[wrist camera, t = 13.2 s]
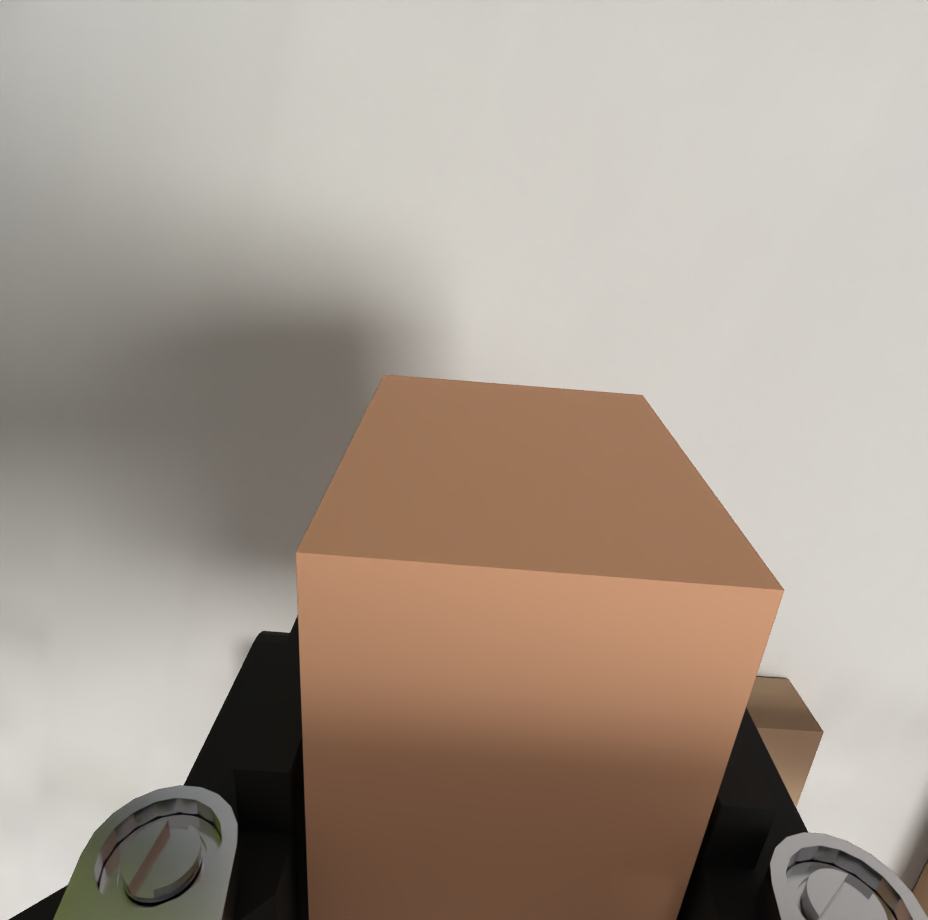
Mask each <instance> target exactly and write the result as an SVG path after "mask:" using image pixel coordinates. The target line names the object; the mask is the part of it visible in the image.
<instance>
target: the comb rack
mask: <svg viewBox="0 0 928 920" xmlns="http://www.w3.org/2000/svg"><path fill="white" fill-rule="evenodd" d="M746 708H747V710H748V712H749V714H750V716H751V718H752V720H753V722H754V724H755V726H756V728H757V730H758V732H759V734H760V736H761V738H762V740H763V742H764V744H765V746H766V748H767V750H768V752H769V754H770V756H771V758H772V760H773V762H774V764H775V766H776V768H777V770H778V772H779V774H780V776H781V778H782V780H783V782H784V784H785V787H786V789H787V791H788V793H789V795H790V797H791V799H792V801H793V803H794V805H795V807H796V806H797V803H798V801H799V798H800V795H801V792H802V790H803V787H804V784H805V782H806V779H807V776H808V773H809V771H810V768H811V765H812V762H813V760H814V757H815V754H816V751H817V749H818V746H819V743H820V740H821V738H822V735H823V730H822V729H821V727H820V726H819V724H818V723H817V721H816V720H815V718H814V717H813V715H812V714H811V712H810V711H809V709H808V708H807V706H806V705H805V703H804V702H803V700H802V699H801V697H800V696H799V694H798V693H797V691H796V690H795V688H794V687H793V685H792V684H791V682H790V681H789V679H781V678H766V677H756V678H755V681H754V684H753V687H752V690H751V693H750V696H749V699H748V702H747V706H746ZM912 893H913V894H914V896H915V898H916V899H917V901H918V903H919V904H920V906H921V907H922V909H923V911H924V912H925V914H926V916H927V917H928V862H927V864H926V866H925V868H924V870H923V872H922V874H921V876H920V878H919V880H918V882H917V884H916V886H915V888H914V890H913V892H912Z"/></svg>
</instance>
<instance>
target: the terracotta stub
mask: <svg viewBox="0 0 928 920" xmlns="http://www.w3.org/2000/svg"><path fill="white" fill-rule="evenodd" d="M296 570H297V598H298V626H299V654H300V682H301V710H302V738H303V766H304V794H305V822H306V850H307V878H308V906H309V920H676V919H677V916H678V913H679V910H680V907H681V904H682V901H683V897H684V894H685V891H686V888H687V885H688V882H689V879H690V876H691V873H692V870H693V867H694V864H695V861H696V858H697V855H698V852H699V849H700V846H701V843H702V840H703V837H704V834H705V830H706V827H707V824H708V821H709V818H710V815H711V812H712V809H713V806H714V803H715V800H716V797H717V794H718V791H719V788H720V785H721V782H722V779H723V776H724V773H725V770H726V766H727V763H728V760H729V757H730V754H731V751H732V748H733V745H734V742H735V739H736V736H737V733H738V730H739V727H740V724H741V721H742V718H743V715H744V712H745V709H746V706H747V702H748V699H749V696H750V693H751V690H752V687H753V684H754V681H755V678H756V675H757V672H758V669H759V666H760V663H761V660H762V657H763V654H764V651H765V648H766V645H767V642H768V638H769V635H770V632H771V629H772V626H773V623H774V620H775V617H776V614H777V611H778V608H779V605H780V602H781V599H782V596H783V593H784V589H783V588H782V586H781V585H780V584H779V582H778V581H777V579H776V578H775V577H774V575H773V574H772V573H771V571H770V570H769V568H768V567H767V566H766V564H765V563H764V562H763V560H762V559H761V557H760V556H759V555H758V553H757V552H756V551H755V549H754V548H753V546H752V545H751V544H750V542H749V541H748V540H747V538H746V537H745V535H744V534H743V533H742V531H741V530H740V529H739V527H738V526H737V524H736V523H735V522H734V520H733V519H732V518H731V516H730V515H729V513H728V512H727V511H726V509H725V508H724V507H723V505H722V504H721V502H720V501H719V500H718V498H717V497H716V496H715V494H714V493H713V491H712V490H711V489H710V487H709V486H708V485H707V483H706V482H705V480H704V479H703V478H702V476H701V475H700V474H699V472H698V471H697V469H696V468H695V467H694V465H693V464H692V463H691V461H690V460H689V458H688V457H687V456H686V454H685V453H684V452H683V450H682V449H681V447H680V446H679V445H678V443H677V442H676V441H675V439H674V438H673V436H672V435H671V434H670V432H669V431H668V430H667V428H666V427H665V425H664V424H663V423H662V421H661V420H660V419H659V417H658V416H657V414H656V413H655V412H654V410H653V409H652V408H651V406H650V405H649V403H648V402H647V401H646V399H645V398H644V397H643V395H635V394H622V393H610V392H597V391H584V390H572V389H559V388H547V387H534V386H521V385H509V384H496V383H483V382H471V381H458V380H445V379H433V378H420V377H408V376H395V375H383V377H382V379H381V381H380V384H379V386H378V388H377V390H376V392H375V394H374V396H373V398H372V400H371V402H370V404H369V406H368V408H367V410H366V412H365V414H364V416H363V418H362V420H361V422H360V424H359V426H358V428H357V430H356V432H355V434H354V436H353V438H352V440H351V442H350V444H349V446H348V448H347V450H346V452H345V454H344V456H343V458H342V460H341V462H340V464H339V466H338V468H337V470H336V472H335V474H334V476H333V478H332V480H331V482H330V484H329V486H328V488H327V491H326V493H325V495H324V497H323V499H322V501H321V503H320V505H319V507H318V509H317V511H316V513H315V515H314V517H313V519H312V521H311V523H310V525H309V527H308V529H307V531H306V533H305V535H304V537H303V539H302V541H301V543H300V545H299V547H298V549H297V551H296Z"/></svg>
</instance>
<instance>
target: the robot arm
mask: <svg viewBox="0 0 928 920" xmlns="http://www.w3.org/2000/svg"><path fill="white" fill-rule="evenodd" d="M9 920H309V906H308V878H307V850H306V822H305V794H304V766H303V738H302V710H301V682H300V654H299V626H298V616H297V618H296V620H295V623H294V625H293V628H292V630H291V632H290V633H283V632H270V631H262V632H261V633H259V634H258V636H257V638H256V639H255V641H254V643H253V645H252V647H251V649H250V651H249V653H248V655H247V657H246V659H245V661H244V663H243V665H242V667H241V669H240V671H239V673H238V675H237V677H236V679H235V681H234V684H233V686H232V688H231V690H230V692H229V694H228V696H227V698H226V700H225V702H224V704H223V706H222V708H221V710H220V712H219V714H218V716H217V718H216V720H215V722H214V724H213V726H212V728H211V730H210V733H209V735H208V737H207V739H206V741H205V743H204V745H203V747H202V749H201V751H200V753H199V755H198V757H197V759H196V761H195V763H194V765H193V767H192V769H191V771H190V773H189V775H188V777H187V780H186V782H185V784H184V786H181V785H180V786H174V787H168V788H163V789H157V790H155V791H152V792H150V793H148V794H145V795H143V796H140V797H138V798H135V799H134V800H132V801H131V802H129V803H128V804H126V805H125V806H123V807H122V808H120V809H119V810H117V811H116V812H114V813H113V814H112V815H111V816H110V817H109V818H108V819H107V820H106V821H105V822H104V823H103V824H102V825H101V826H100V827H99V828H98V829H97V830H96V831H95V832H94V834H93V835H92V837H91V839H90V840H89V842H88V844H87V845H86V847H85V849H84V850H83V852H82V854H81V856H80V858H79V860H78V863H77V865H76V867H75V870H74V872H73V874H72V877H71V879H70V881H69V884H68V885H67V886H65V887H64V888H62V889H60V890H58V891H57V892H55V893H53V894H52V895H50V896H48V897H47V898H45V899H43V900H41V901H40V902H38V903H36V904H35V905H33V906H31V907H29V908H28V909H26V910H24V911H23V912H21V913H19V914H17V915H16V916H14V917H12V918H11V919H9ZM676 920H928V917H927V916H926V914H925V912H924V911H923V909H922V907H921V906H920V904H919V903H918V901H917V899H916V898H915V896H914V894H913V893H912V892H911V891H910V890H909V888H908V887H907V886H906V885H905V884H904V883H903V882H902V881H901V880H900V879H899V877H898V876H897V875H896V874H895V873H894V872H893V871H892V870H890V869H889V868H888V867H887V866H885V865H884V864H883V863H882V862H880V861H879V860H878V859H877V858H875V857H874V856H873V855H872V854H870V853H868V852H866V851H864V850H863V849H861V848H859V847H857V846H855V845H854V844H852V843H850V842H848V841H845V840H842V839H839V838H836V837H833V836H830V835H827V834H821V833H808V831H807V829H806V827H805V825H804V823H803V821H802V819H801V817H800V815H799V813H798V811H797V809H796V807H795V805H794V803H793V801H792V799H791V797H790V795H789V793H788V791H787V789H786V787H785V784H784V782H783V780H782V778H781V776H780V774H779V772H778V770H777V768H776V766H775V764H774V762H773V760H772V758H771V756H770V754H769V752H768V750H767V748H766V746H765V744H764V742H763V740H762V738H761V736H760V734H759V732H758V730H757V728H756V726H755V724H754V722H753V720H752V718H751V716H750V714H749V712H748V710H747V708H746V709H745V712H744V715H743V718H742V721H741V724H740V727H739V730H738V733H737V736H736V739H735V742H734V745H733V748H732V751H731V754H730V757H729V760H728V763H727V766H726V770H725V773H724V776H723V779H722V782H721V785H720V788H719V791H718V794H717V797H716V800H715V803H714V806H713V809H712V812H711V815H710V818H709V821H708V824H707V827H706V830H705V834H704V837H703V840H702V843H701V846H700V849H699V852H698V855H697V858H696V861H695V864H694V867H693V870H692V873H691V876H690V879H689V882H688V885H687V888H686V891H685V894H684V897H683V901H682V904H681V907H680V910H679V913H678V916H677V919H676Z"/></svg>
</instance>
